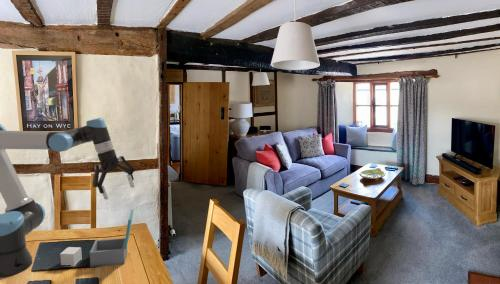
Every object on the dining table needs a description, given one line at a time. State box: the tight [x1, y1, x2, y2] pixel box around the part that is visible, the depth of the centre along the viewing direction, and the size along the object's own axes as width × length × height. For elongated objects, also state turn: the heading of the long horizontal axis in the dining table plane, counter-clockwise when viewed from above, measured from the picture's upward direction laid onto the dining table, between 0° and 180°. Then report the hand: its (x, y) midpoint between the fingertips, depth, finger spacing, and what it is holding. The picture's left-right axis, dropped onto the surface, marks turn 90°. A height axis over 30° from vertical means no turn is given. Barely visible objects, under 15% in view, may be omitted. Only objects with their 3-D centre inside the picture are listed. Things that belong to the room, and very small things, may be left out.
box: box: [89, 237, 128, 268], centre depth 147 cm, size 14×12×7 cm
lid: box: [124, 209, 134, 249], centre depth 148 cm, size 14×12×1 cm
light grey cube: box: [59, 246, 83, 267], centre depth 143 cm, size 6×6×6 cm
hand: (120, 193), depth 152 cm, fingers open, 13 cm apart
